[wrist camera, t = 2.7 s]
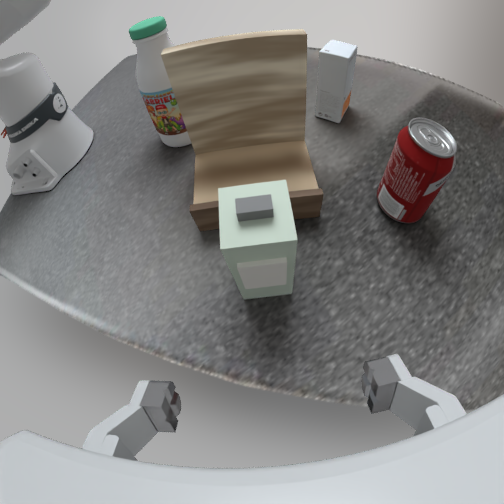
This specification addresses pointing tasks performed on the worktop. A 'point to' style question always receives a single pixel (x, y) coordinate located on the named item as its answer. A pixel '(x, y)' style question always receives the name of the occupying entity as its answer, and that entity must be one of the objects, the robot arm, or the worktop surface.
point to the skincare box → (335, 79)
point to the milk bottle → (158, 81)
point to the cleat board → (245, 116)
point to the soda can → (416, 170)
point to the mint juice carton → (258, 237)
